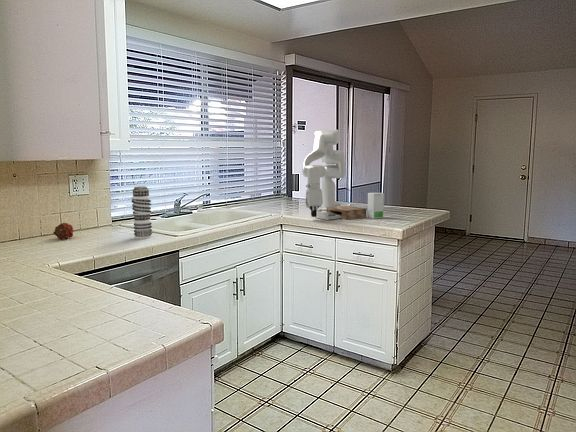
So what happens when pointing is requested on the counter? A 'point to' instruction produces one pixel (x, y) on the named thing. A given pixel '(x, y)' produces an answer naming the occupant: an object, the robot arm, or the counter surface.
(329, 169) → the robot arm
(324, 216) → the tray
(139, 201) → the decorative candle
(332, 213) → the disc
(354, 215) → the housing
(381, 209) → the skincare box
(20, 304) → the counter surface
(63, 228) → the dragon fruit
